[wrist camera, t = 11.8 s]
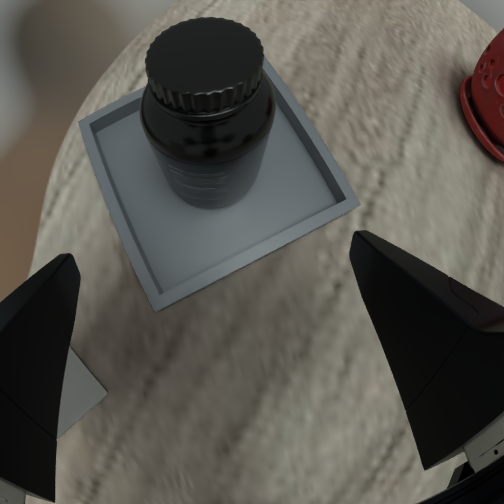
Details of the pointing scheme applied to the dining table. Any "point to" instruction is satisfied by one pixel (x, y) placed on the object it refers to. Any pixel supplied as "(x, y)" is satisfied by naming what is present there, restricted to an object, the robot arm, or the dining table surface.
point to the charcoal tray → (218, 218)
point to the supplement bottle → (207, 109)
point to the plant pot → (487, 98)
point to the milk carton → (77, 393)
